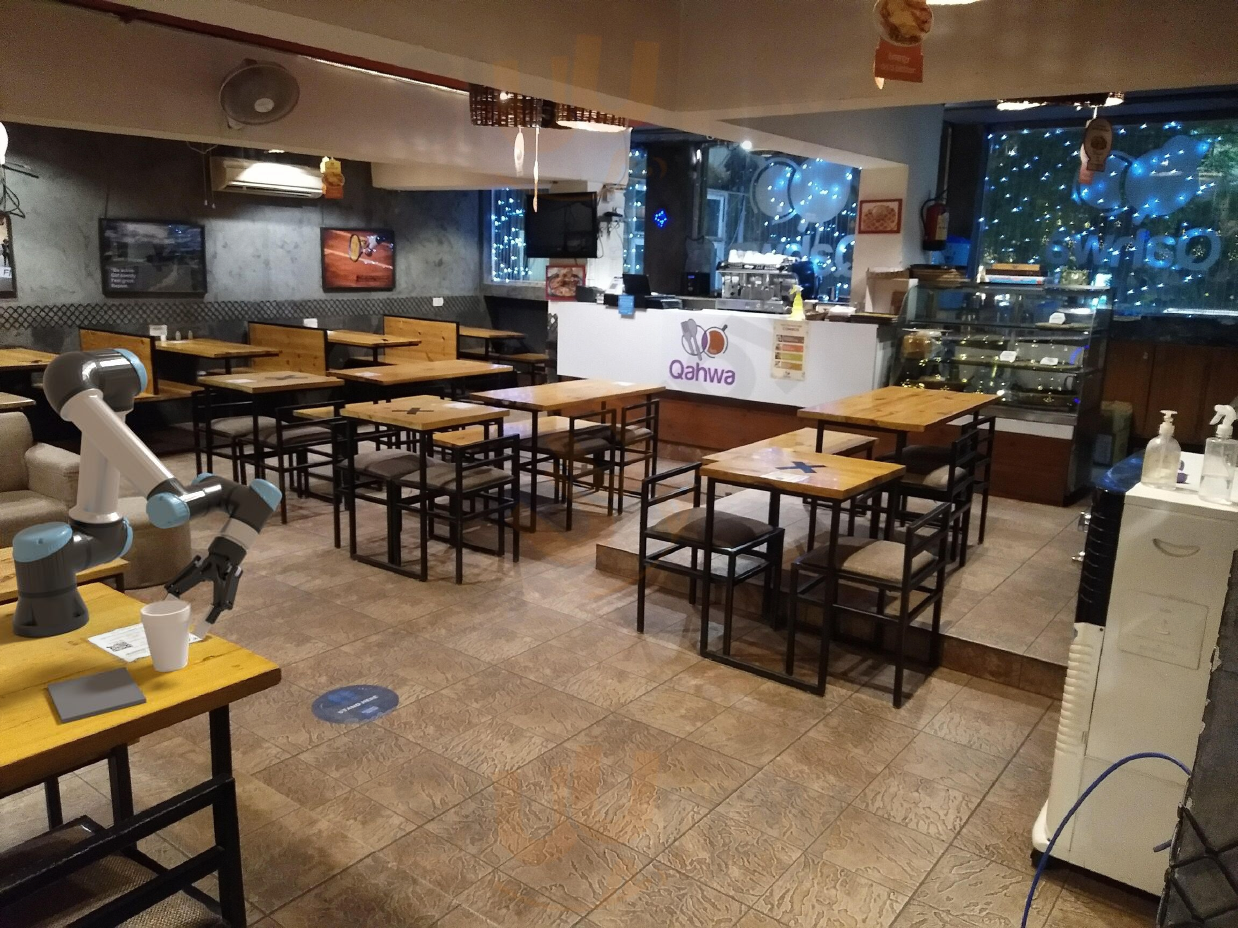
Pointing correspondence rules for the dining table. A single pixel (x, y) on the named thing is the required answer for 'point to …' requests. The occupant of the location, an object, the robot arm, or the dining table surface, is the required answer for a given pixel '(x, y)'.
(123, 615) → the dining table surface
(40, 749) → the dining table surface
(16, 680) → the dining table surface
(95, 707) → the rubber mat
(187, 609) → the foam cup
